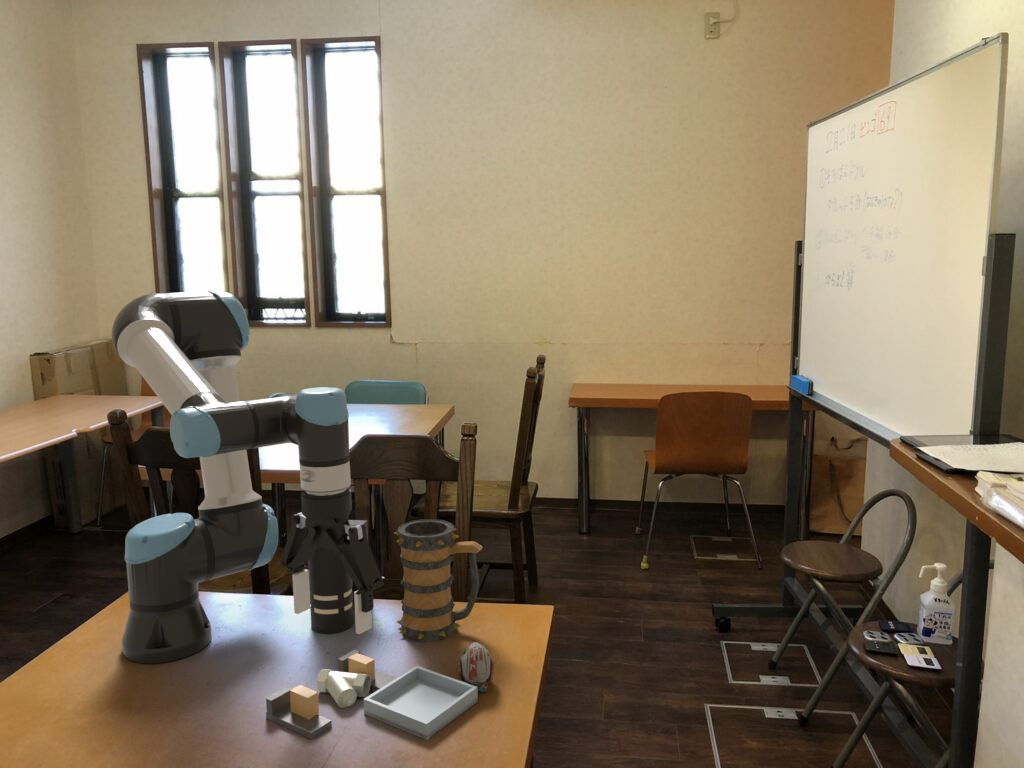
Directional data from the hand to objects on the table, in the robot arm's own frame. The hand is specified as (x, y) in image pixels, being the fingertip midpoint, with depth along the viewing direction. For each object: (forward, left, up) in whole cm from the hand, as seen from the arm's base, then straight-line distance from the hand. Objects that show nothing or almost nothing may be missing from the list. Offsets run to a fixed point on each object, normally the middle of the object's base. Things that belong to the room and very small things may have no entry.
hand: (332, 620), depth 129 cm
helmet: (+16, +17, -14) cm, 27 cm away
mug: (-2, +29, -14) cm, 32 cm away
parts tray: (+13, +6, -14) cm, 20 cm away
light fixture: (-22, +22, -14) cm, 34 cm away
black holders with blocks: (0, 0, -14) cm, 14 cm away
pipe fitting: (0, +1, -14) cm, 14 cm away
